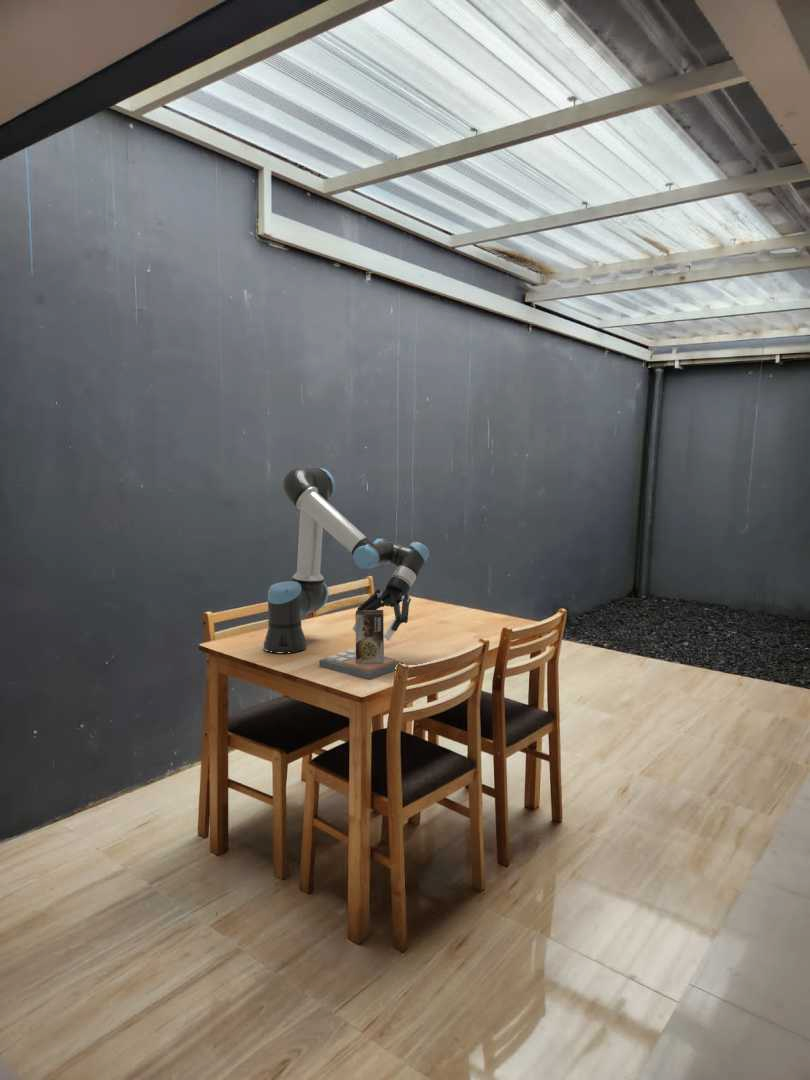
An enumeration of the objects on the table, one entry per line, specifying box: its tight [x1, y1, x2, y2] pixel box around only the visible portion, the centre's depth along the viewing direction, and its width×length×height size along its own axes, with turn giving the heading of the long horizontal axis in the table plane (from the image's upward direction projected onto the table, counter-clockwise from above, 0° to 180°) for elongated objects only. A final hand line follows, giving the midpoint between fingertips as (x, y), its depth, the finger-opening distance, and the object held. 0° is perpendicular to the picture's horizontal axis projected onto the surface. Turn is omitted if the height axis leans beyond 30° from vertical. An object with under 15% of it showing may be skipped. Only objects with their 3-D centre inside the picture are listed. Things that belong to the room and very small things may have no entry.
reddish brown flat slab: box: [343, 656, 397, 672], centre depth 224 cm, size 11×13×2 cm
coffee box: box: [354, 609, 385, 663], centre depth 223 cm, size 9×6×16 cm
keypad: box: [318, 649, 403, 681], centre depth 226 cm, size 22×16×3 cm
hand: (370, 634), depth 222 cm, fingers open, 13 cm apart
